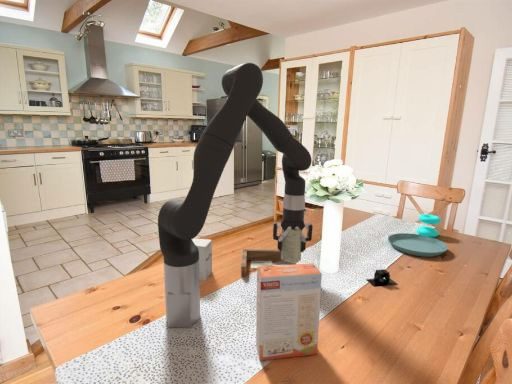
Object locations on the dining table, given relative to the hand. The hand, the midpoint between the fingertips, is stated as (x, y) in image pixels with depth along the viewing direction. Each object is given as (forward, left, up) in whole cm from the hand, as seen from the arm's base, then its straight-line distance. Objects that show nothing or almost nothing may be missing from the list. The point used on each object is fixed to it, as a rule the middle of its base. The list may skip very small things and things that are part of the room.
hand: (291, 250), depth 109 cm
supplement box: (-2, +33, -9) cm, 34 cm away
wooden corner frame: (+5, +8, -9) cm, 13 cm away
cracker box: (-39, +5, -9) cm, 40 cm away
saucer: (+28, -61, -10) cm, 68 cm away
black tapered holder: (-4, -32, -10) cm, 34 cm away
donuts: (+47, -77, -9) cm, 91 cm away
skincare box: (0, 0, -4) cm, 4 cm away
